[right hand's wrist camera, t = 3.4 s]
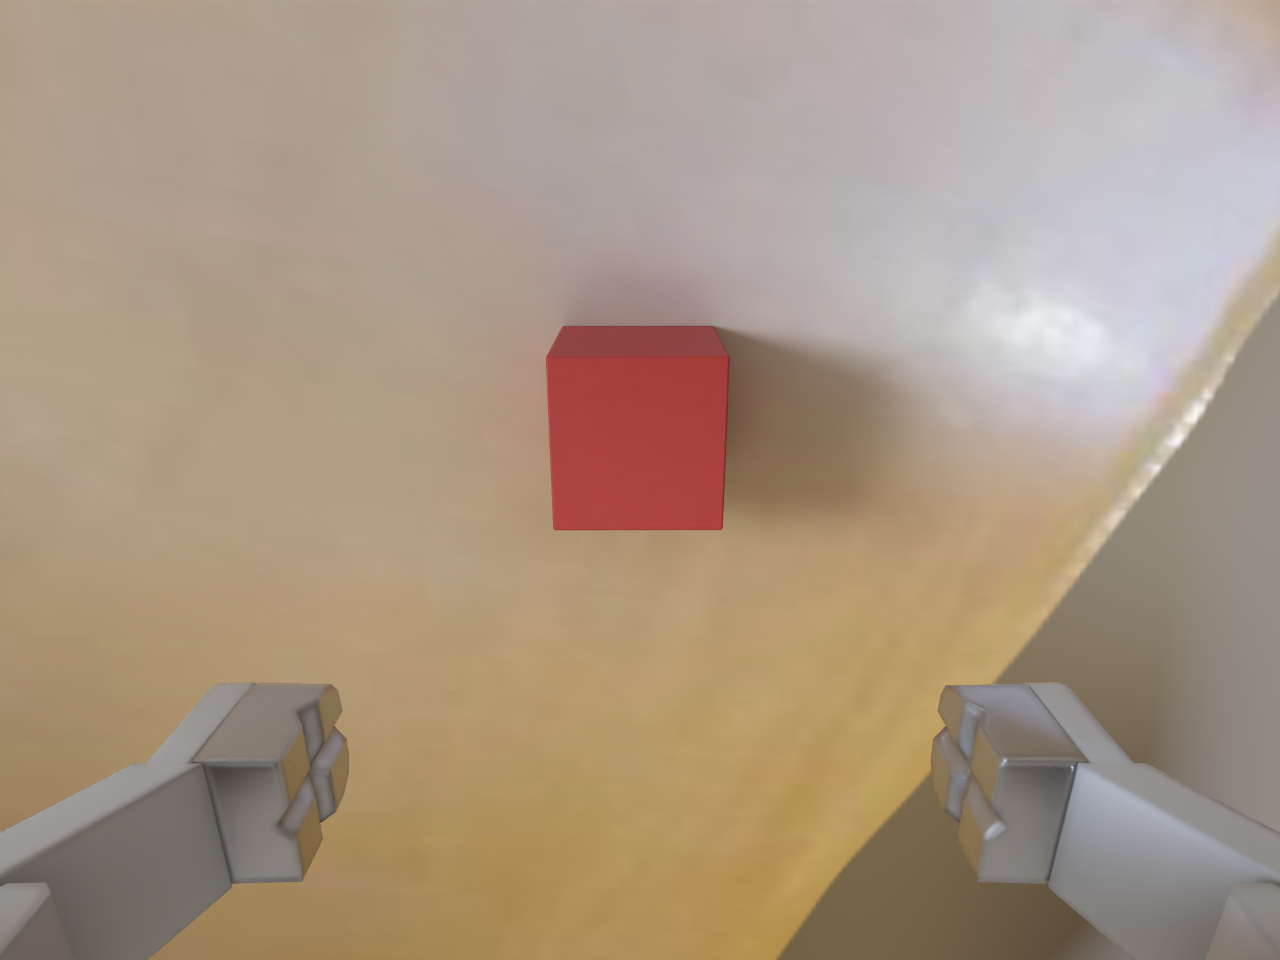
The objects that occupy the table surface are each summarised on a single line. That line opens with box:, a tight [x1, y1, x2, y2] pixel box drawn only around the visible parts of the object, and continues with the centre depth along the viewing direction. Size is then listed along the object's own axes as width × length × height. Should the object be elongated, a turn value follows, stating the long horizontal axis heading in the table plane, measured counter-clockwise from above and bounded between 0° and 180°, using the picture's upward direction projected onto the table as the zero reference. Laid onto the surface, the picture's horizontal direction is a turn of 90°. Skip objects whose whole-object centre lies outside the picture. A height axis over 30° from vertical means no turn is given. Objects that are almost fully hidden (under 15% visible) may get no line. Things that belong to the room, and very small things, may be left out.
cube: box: [546, 326, 730, 530], centre depth 24 cm, size 5×5×5 cm
